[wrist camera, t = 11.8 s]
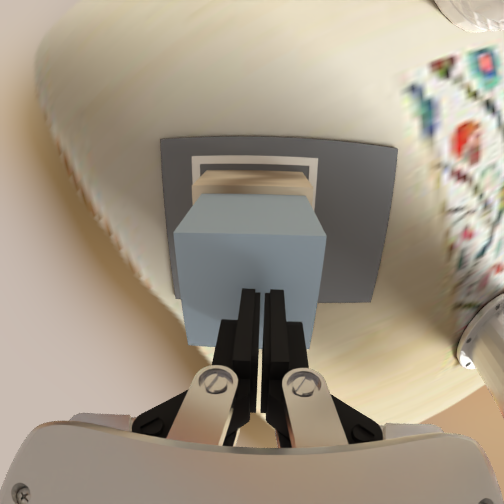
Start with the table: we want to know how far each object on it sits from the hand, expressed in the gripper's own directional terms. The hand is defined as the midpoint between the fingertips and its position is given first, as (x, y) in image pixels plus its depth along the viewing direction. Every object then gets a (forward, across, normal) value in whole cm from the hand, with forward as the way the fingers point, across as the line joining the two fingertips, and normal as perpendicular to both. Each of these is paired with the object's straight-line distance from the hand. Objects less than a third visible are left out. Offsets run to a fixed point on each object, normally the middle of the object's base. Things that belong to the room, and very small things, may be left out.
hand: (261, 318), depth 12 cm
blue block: (+7, +1, 0) cm, 7 cm away
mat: (+12, -1, +1) cm, 12 cm away
